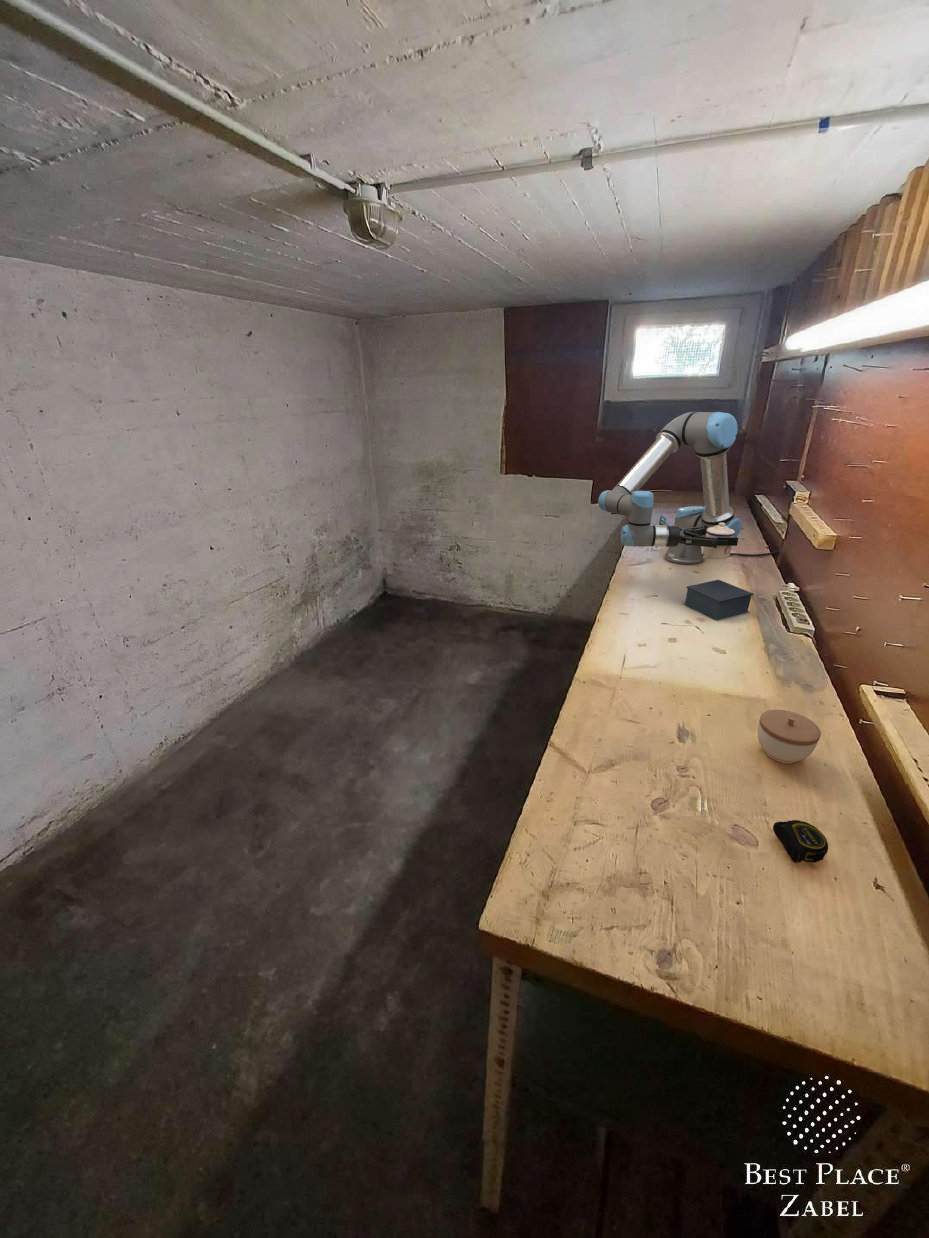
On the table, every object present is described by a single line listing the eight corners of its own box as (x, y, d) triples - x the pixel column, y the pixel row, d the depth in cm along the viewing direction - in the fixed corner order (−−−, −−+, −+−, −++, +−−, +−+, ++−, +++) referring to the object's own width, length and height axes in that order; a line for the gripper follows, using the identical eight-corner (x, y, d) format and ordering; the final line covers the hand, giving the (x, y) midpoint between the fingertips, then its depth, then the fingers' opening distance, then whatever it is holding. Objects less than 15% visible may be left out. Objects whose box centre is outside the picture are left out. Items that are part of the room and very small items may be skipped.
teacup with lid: (728, 560, 166) (735, 527, 161) (700, 557, 170) (705, 524, 165) (732, 551, 175) (739, 519, 170) (705, 548, 179) (710, 517, 174)
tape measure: (768, 832, 86) (773, 816, 84) (809, 833, 85) (815, 818, 83) (788, 866, 80) (794, 850, 78) (832, 868, 79) (839, 852, 77)
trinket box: (741, 739, 108) (750, 705, 104) (787, 735, 108) (798, 700, 104) (773, 773, 98) (784, 737, 94) (823, 768, 99) (836, 732, 95)
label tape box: (671, 542, 237) (674, 518, 231) (662, 543, 237) (666, 518, 232) (664, 537, 245) (668, 513, 239) (656, 538, 245) (659, 514, 240)
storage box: (714, 597, 177) (718, 579, 174) (749, 612, 165) (753, 593, 162) (683, 604, 172) (686, 586, 169) (716, 620, 160) (720, 601, 157)
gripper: (658, 537, 185) (719, 537, 181) (671, 556, 164) (741, 557, 160) (661, 517, 182) (723, 517, 178) (675, 535, 161) (745, 535, 157)
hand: (731, 536), depth 169 cm, fingers closed on teacup with lid, 11 cm apart
